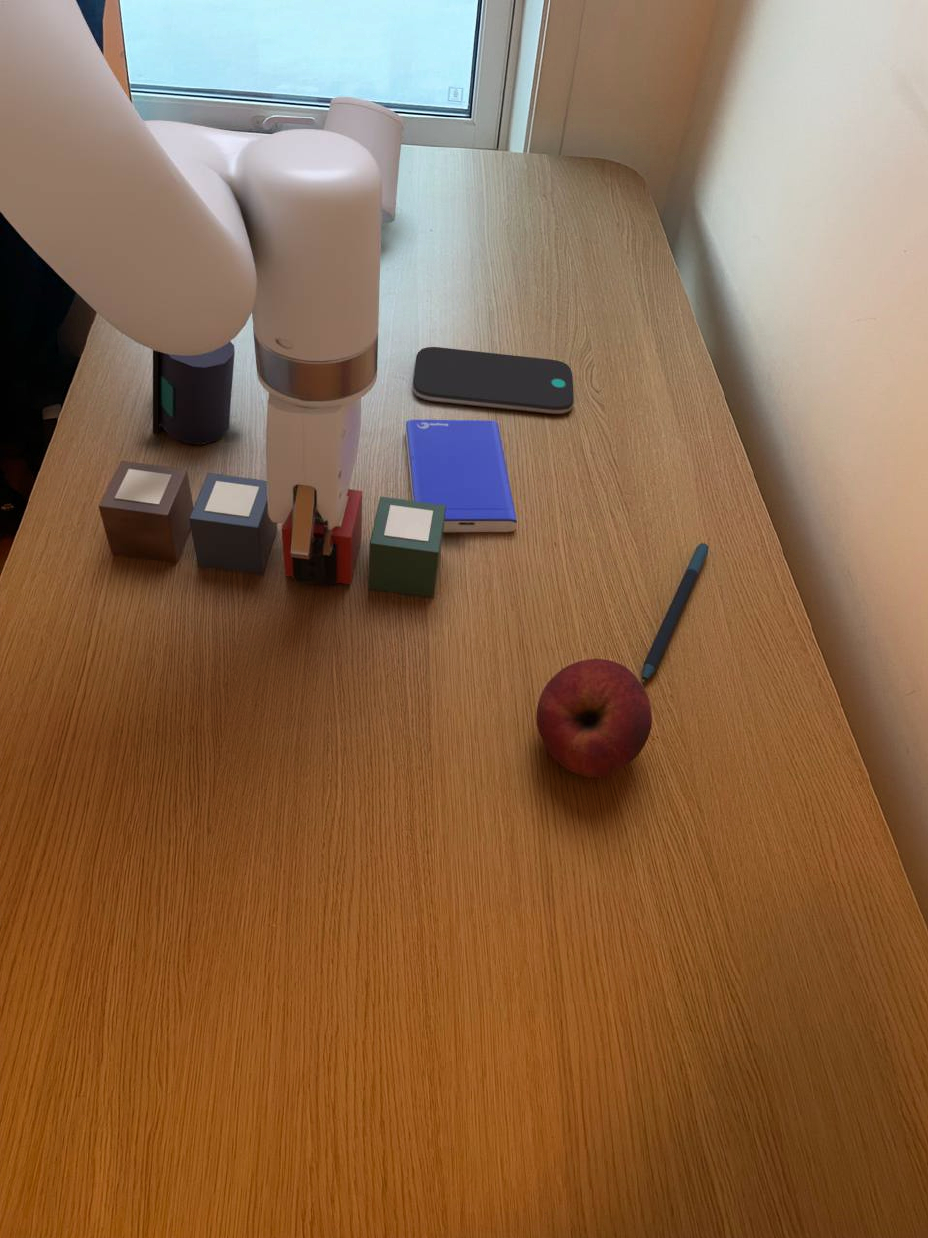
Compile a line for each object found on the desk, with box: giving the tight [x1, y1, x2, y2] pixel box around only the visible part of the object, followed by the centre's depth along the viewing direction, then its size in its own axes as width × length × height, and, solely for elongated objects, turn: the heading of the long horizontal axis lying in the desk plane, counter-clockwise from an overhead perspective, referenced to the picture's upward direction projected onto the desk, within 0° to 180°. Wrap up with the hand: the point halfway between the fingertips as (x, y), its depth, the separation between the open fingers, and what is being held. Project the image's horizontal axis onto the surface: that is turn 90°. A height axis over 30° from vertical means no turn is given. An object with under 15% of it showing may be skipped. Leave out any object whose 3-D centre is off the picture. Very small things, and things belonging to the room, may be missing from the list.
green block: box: [368, 496, 446, 599], centre depth 70 cm, size 5×5×5 cm
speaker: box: [152, 340, 236, 445], centre depth 77 cm, size 8×6×10 cm
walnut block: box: [98, 460, 194, 564], centre depth 70 cm, size 5×5×5 cm
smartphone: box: [412, 346, 575, 415], centre depth 88 cm, size 8×1×15 cm
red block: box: [281, 488, 363, 585], centre depth 70 cm, size 5×5×5 cm
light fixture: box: [322, 96, 405, 223], centre depth 100 cm, size 10×16×17 cm
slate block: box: [189, 472, 278, 575], centre depth 70 cm, size 5×5×5 cm
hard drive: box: [404, 419, 518, 533], centre depth 79 cm, size 2×8×12 cm
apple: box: [536, 658, 653, 778], centre depth 61 cm, size 7×8×8 cm
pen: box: [641, 542, 709, 683], centre depth 72 cm, size 1×16×1 cm, turn 154°
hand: (323, 552), depth 72 cm, fingers closed on red block, 5 cm apart
